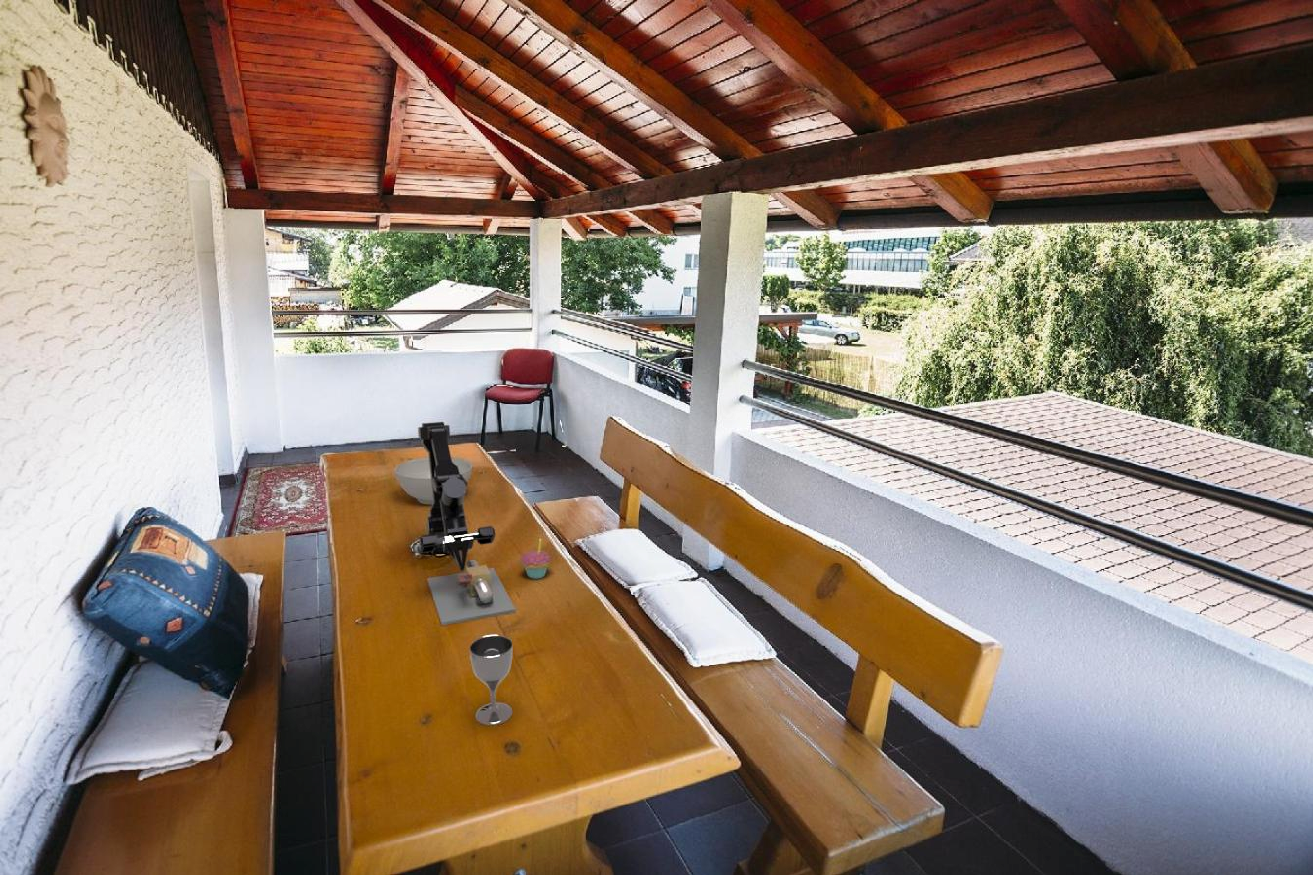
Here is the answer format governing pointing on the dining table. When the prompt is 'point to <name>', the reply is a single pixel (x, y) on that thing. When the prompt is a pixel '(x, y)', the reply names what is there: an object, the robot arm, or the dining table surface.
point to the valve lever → (464, 580)
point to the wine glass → (492, 674)
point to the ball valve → (479, 583)
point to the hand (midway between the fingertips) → (462, 570)
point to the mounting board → (466, 599)
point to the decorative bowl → (424, 477)
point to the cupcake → (535, 562)
